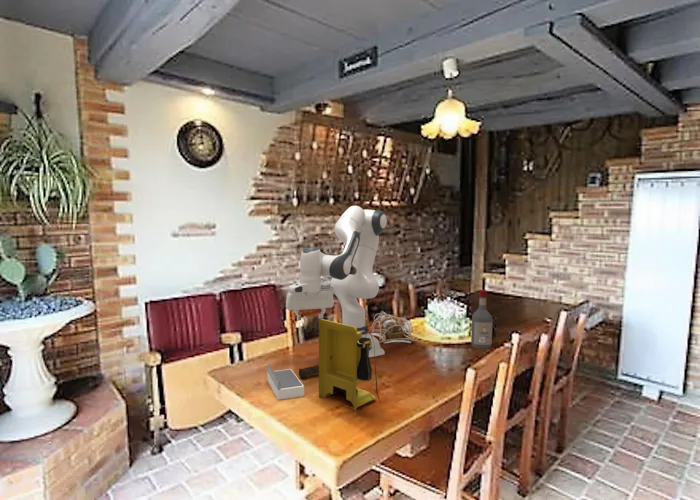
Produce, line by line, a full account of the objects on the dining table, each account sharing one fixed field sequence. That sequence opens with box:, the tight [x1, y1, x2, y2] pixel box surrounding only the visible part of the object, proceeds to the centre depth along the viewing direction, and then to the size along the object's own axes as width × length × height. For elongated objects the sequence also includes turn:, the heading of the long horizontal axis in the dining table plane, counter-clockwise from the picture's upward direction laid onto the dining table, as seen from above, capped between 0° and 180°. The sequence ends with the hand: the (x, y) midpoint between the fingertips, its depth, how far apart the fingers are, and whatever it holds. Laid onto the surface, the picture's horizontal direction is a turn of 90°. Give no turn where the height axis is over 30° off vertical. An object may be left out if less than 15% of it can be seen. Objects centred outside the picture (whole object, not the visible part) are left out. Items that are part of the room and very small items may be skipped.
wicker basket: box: [369, 310, 415, 344], centre depth 244 cm, size 28×35×16 cm
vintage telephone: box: [318, 318, 382, 412], centre depth 163 cm, size 31×14×30 cm, turn 48°
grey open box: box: [266, 364, 305, 401], centre depth 174 cm, size 10×20×7 cm, turn 22°
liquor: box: [470, 289, 494, 349], centre depth 228 cm, size 9×9×30 cm
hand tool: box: [298, 364, 319, 379], centre depth 189 cm, size 19×4×5 cm, turn 126°
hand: (310, 319), depth 185 cm, fingers open, 8 cm apart
